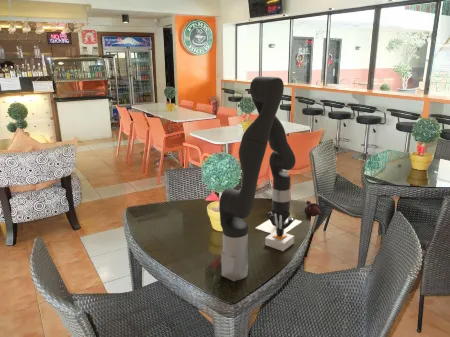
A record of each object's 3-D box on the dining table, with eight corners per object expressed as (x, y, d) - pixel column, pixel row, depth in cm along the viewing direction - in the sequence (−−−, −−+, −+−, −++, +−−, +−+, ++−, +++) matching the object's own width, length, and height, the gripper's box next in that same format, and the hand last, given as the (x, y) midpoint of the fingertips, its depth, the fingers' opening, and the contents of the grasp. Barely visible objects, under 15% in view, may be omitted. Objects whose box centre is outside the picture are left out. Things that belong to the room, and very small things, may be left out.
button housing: (283, 251, 157) (283, 243, 156) (265, 244, 162) (265, 237, 161) (293, 243, 164) (294, 235, 163) (276, 237, 169) (276, 230, 168)
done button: (281, 244, 160) (281, 238, 159) (272, 241, 162) (273, 236, 162) (286, 240, 163) (286, 235, 162) (278, 237, 165) (278, 232, 165)
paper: (280, 236, 169) (280, 236, 169) (255, 228, 178) (255, 227, 178) (302, 222, 184) (302, 221, 184) (277, 214, 193) (277, 214, 192)
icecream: (329, 208, 184) (314, 200, 198) (315, 206, 182) (301, 198, 196) (325, 221, 185) (310, 212, 199) (312, 220, 183) (298, 210, 197)
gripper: (262, 197, 158) (262, 234, 163) (290, 204, 150) (288, 243, 155) (272, 192, 164) (271, 228, 169) (299, 199, 156) (297, 236, 161)
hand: (279, 235), depth 162 cm, fingers closed
